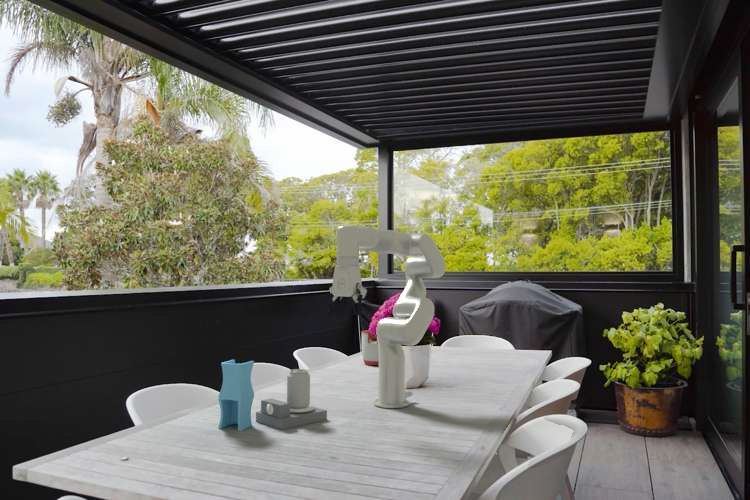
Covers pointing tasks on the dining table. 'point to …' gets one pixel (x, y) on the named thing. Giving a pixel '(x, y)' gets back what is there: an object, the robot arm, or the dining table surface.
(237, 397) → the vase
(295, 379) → the can
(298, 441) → the dining table surface
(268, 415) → the scale
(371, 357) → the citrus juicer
